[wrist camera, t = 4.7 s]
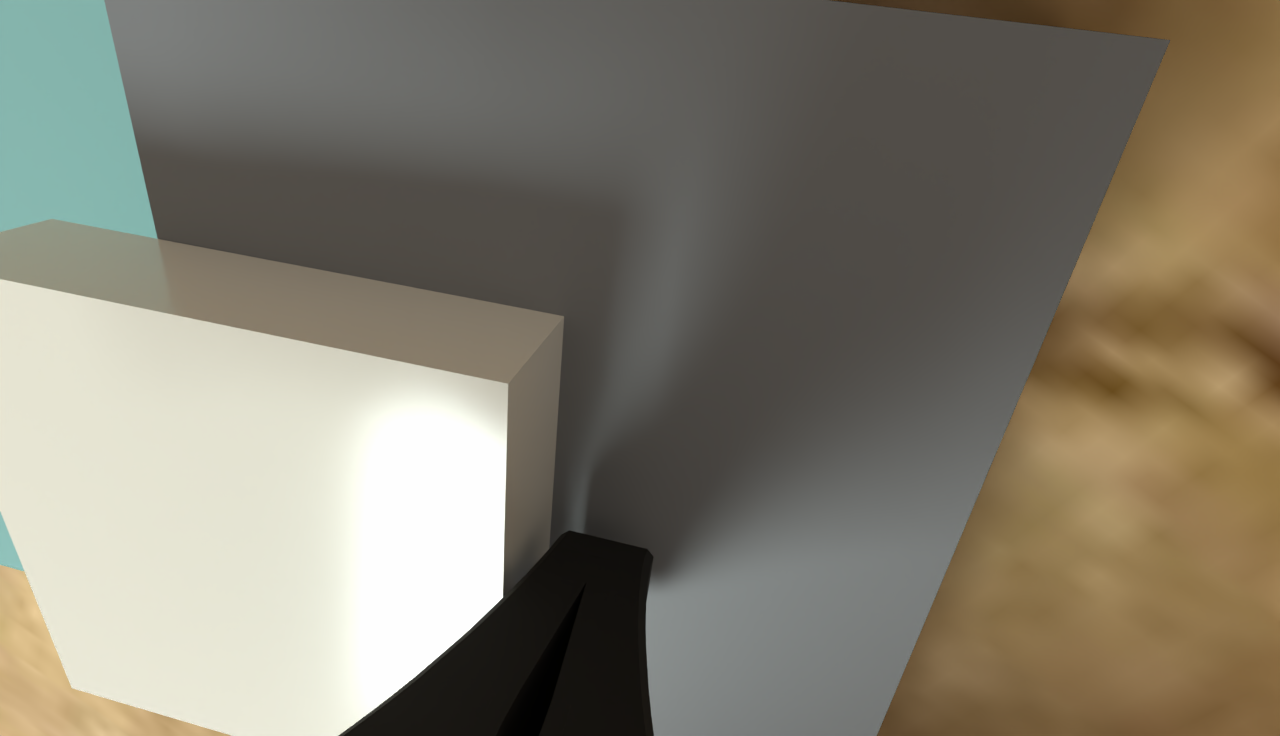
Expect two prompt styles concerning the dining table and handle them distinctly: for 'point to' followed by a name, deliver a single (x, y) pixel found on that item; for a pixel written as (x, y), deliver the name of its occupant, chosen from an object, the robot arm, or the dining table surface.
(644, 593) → the robot arm
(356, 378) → the coaster
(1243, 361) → the dining table surface
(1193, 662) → the dining table surface
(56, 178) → the drip mat
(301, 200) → the riser
